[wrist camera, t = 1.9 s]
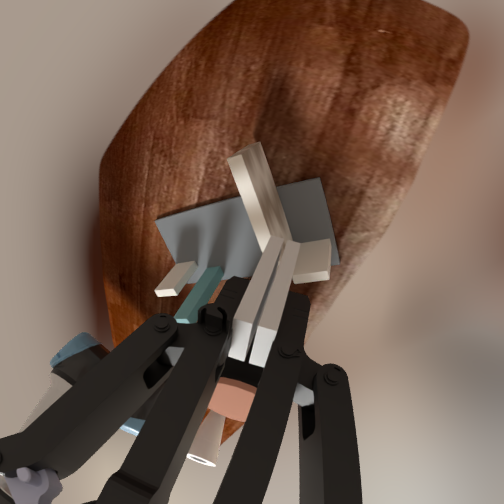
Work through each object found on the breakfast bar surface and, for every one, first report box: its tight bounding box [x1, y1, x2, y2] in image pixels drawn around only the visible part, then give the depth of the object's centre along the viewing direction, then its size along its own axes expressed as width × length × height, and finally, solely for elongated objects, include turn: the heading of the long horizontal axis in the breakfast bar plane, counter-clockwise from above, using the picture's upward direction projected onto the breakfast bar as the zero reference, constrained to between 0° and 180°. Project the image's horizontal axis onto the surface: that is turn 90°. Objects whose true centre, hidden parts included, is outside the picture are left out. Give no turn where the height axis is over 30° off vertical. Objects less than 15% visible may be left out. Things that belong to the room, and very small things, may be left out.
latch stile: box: [174, 266, 224, 323], centre depth 38 cm, size 2×2×12 cm
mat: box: [155, 177, 340, 284], centre depth 38 cm, size 25×12×1 cm, turn 110°
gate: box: [227, 142, 293, 273], centre depth 30 cm, size 13×2×7 cm, turn 20°
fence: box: [154, 239, 332, 297], centre depth 36 cm, size 24×1×7 cm, turn 110°
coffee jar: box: [208, 309, 264, 422], centre depth 37 cm, size 11×11×18 cm
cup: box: [186, 410, 225, 466], centre depth 68 cm, size 11×11×18 cm
